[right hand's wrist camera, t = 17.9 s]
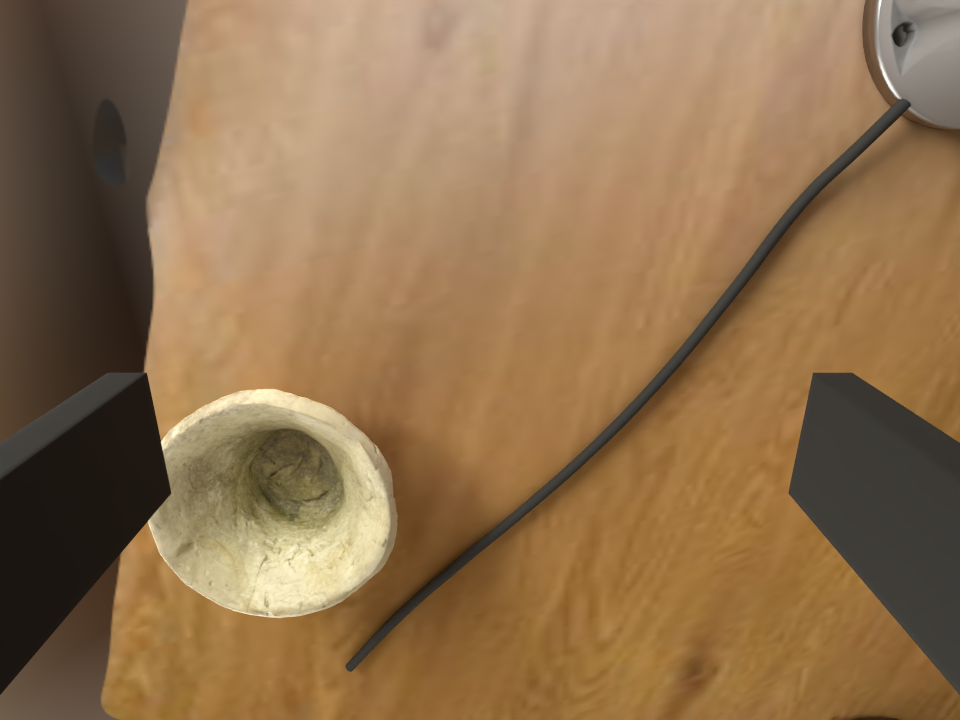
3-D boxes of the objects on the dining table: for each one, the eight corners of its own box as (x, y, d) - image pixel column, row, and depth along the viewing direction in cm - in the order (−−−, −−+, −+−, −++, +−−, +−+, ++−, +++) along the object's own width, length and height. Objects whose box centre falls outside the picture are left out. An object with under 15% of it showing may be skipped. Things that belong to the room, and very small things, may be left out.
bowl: (287, 506, 57) (111, 520, 47) (370, 355, 50) (187, 333, 40) (345, 639, 49) (148, 691, 39) (454, 480, 42) (250, 492, 32)
